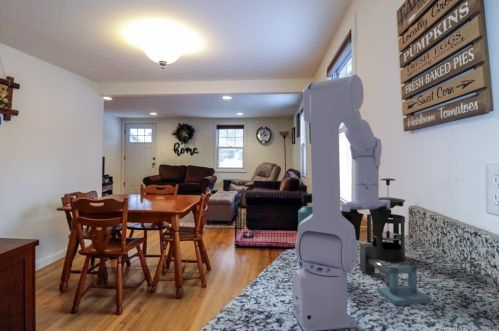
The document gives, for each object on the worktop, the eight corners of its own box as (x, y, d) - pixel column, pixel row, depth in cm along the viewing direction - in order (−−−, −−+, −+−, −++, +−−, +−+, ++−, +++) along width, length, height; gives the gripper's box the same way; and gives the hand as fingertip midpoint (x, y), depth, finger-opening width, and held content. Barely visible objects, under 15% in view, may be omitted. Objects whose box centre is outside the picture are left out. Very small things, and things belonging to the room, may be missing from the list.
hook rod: (402, 290, 64) (402, 260, 64) (391, 291, 64) (390, 260, 64) (369, 269, 77) (369, 243, 77) (360, 269, 77) (359, 244, 77)
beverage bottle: (325, 277, 72) (324, 195, 72) (297, 275, 74) (296, 194, 74) (323, 268, 79) (323, 192, 79) (298, 266, 80) (297, 192, 80)
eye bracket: (431, 301, 60) (431, 270, 59) (394, 304, 58) (394, 273, 58) (411, 289, 66) (411, 261, 65) (377, 291, 64) (377, 263, 64)
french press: (415, 258, 86) (414, 178, 85) (397, 265, 80) (397, 180, 80) (377, 248, 95) (377, 177, 95) (359, 254, 90) (358, 178, 90)
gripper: (356, 186, 69) (356, 245, 69) (400, 184, 75) (400, 238, 75) (335, 184, 76) (335, 238, 76) (377, 182, 82) (377, 232, 82)
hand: (366, 237), depth 76 cm, fingers open, 7 cm apart
